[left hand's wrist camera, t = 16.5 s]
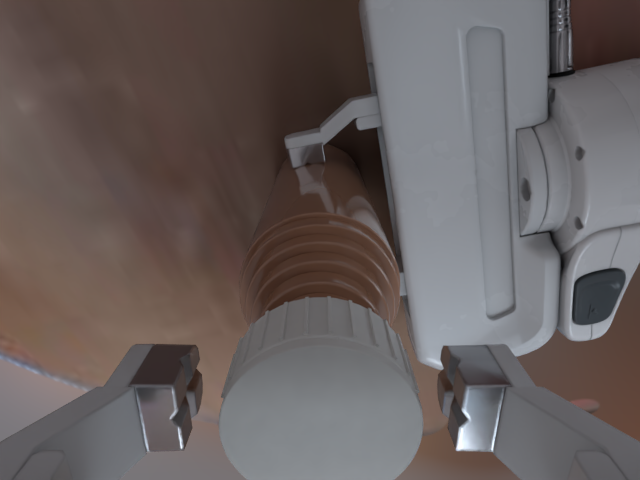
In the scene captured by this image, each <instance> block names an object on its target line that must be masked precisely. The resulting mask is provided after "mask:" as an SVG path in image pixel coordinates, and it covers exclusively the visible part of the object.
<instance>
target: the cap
mask: <svg viewBox="0 0 640 480" xmlns="http://www.w3.org/2000/svg"><path fill="white" fill-rule="evenodd" d="M417 393H419V389H418V386H417V383H416V379H415V376H414V373H413V370H412V367H411V364H410V361H409V357H408V354H407V351H406V349H405V350H404V349H403V345H402V342H401V339H400V336H399V334H398V333H397V334H395V332H394V331H393V330H392V329H391V327H390V326H389V324H388V321H387V320H386V319H385V320H383V319H382V318H380V317H379V316H378V315H376V314H375V313H374V312H372V309H370V308H368V309H367V308H365V307H363V306H361V305H358V304H355V303H353V302H352V300H349V301H346V300H342V299H337V298H331V296H327V297H313V298H309V297H305V299H300V300H296V301H291V302H289V303H288V302H284V304H283V305H281V306H279V307H277V308H275V309H273V310H271V311H266V312H265V315H264V316H262V317H261V318H260V319H259V320H257V321H256V322H255V323H251V324H250V328H249V330H248V331H247V333H246V334H245V336H244V338H240V340H239V343H238V346H237V350H236V353H235V354H234V355H233V359H232V362H231V365H230V369H229V372H228V375H227V379H226V382H225V385H224V389H223V392H222V396H221V398H224V399H223V402H222V406H221V410H220V415H219V434H220V439H221V442H222V446H223V449H224V451H225V453H226V455H227V457H228V459H229V460H230V462H231V463H232V465H233V466H234V467H235V468H236V469H237V470H238V472H239V473H240V474H241V475H242V476H244V477H245V478H246V479H247V480H394V479H396V478H397V477H398V476H399V475H400V474H401V473H402V472H403V471H404V470H405V469H406V467H407V466H408V465H409V464H410V462H411V461H412V459H413V458H414V456H415V454H416V452H417V450H418V448H419V445H420V441H421V438H422V432H423V414H422V407H421V404H420V400H419V397H418V394H417Z"/></svg>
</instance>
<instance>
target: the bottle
mask: <svg viewBox="0 0 640 480" xmlns="http://www.w3.org/2000/svg"><path fill="white" fill-rule="evenodd" d="M324 151H325V159H326V162H323V163H318V164H310V163H308V162H307V163H306V164H305V165H304V166H302V167H298V168H291V165H290V161H289V157H287V158H286V160H285V161H284V162H283V164H282V166H281V168H280V170H279V173H278V175H277V178H276V180H275V183H274V186H273V188H272V191H271V193H270V196H269V198H268V201H267V203H266V206H265V208H264V211H263V213H262V216H261V218H260V221H259V223H258V226H257V229H256V231H255V234H254V236H253V239H252V241H251V244H250V246H249V249H248V251H247V254H246V256H245V259H244V261H243V264H242V268H241V272H240V281H239V287H240V304H241V309H242V313H243V316H244V318H245V321H246V323H247V325H248V327H249V328H250V324H251V323H255V322H256V321H257V320H259V319H260V318H261V317H262V316H264V315H265V312H266V311H271V310H273V309H275V308H277V307H279V306H281V305H283V304H284V302H288V303H289V302H291V301H296V300H300V299H305V297H309V298H313V297H327V296H331V298H337V299H342V300H346V301H349V300H352V302H353V303H355V304H358V305H361V306H363V307H365V308H367V309H368V308H370V309H372V312H374V313H375V314H376V315H378V316H379V317H380V318H382V319H383V320H385V319H386V320H387V321H388V324H389V326H390V327H391V326H392V324H393V323H394V320H395V318H396V315H397V312H398V308H399V303H400V273H399V268H398V265H397V262H396V259H395V257H394V254H393V252H392V249H391V247H390V244H389V242H388V240H387V237H386V235H385V232H384V230H383V228H382V225H381V223H380V220H379V218H378V215H377V213H376V211H375V208H374V206H373V203H372V201H371V199H370V196H369V194H368V191H367V189H366V186H365V184H364V182H363V179H362V177H361V174H360V172H359V170H358V167H357V166H356V164H355V162H354V161H353V159H352V158H351V157H350V156H349V155H348V154H347V153H345V152H344V151H343V150H341V149H339V148H337V147H335V146H332V145H329V144H325V145H324Z"/></svg>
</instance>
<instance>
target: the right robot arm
mask: <svg viewBox="0 0 640 480" xmlns="http://www.w3.org/2000/svg"><path fill="white" fill-rule="evenodd" d="M570 8H571V0H360V2H359V15H360V22H361V28H362V35H363V41H364V48H365V54H366V61H367V68H368V74H369V81H370V87H371V94H367V95H362V96H358V97H353V98H349V99H348V100H347V101H346V102H344V103H343V104H342V105H341V106H340V107H339V108H338V109H337V110H336V111H335V112H334V113H332V114H331V115H330V116H329V117H328V118H327V119H326V120H325V121H324V122H323V123H322V124H320V128H315V129H311V130H306V131H301V132H296V133H292V134H289V135H287V136H285V138H284V140H285V145H286V149H287V153H288V157H289V161H290V165H291V168H298V167H302V166H304V165H305V164H306V163H307V162H308V163H310V164H318V163H323V162H326V159H325V151H324V145H325V144H326V143H327V142H328V141H329V140H330V139H332V138H333V137H334V136H335V135H336V134H337V133H338V132H340V131H341V130H342V129H343V128H344V127H345V126H347V125H348V124H349V123H350V122H351V121H352V120H353V122H354V125H355V126H356V128H357V129H358V130H365V129H370V128H375V127H377V133H378V140H379V147H380V153H381V160H382V166H383V173H384V179H385V186H386V193H387V199H388V206H389V212H390V219H391V225H392V232H393V239H394V245H395V252H396V257H395V259H396V262H397V265H398V268H399V273H400V296H402V298H403V304H404V311H405V318H406V324H407V330H408V334H409V338H410V341H411V344H412V347H413V350H414V353H415V355H416V358H417V360H418V361H419V362H421V363H423V364H425V365H427V366H430V367H432V368H435V369H438V370H443V369H444V368H443V365H442V363H441V360H440V357H441V350H442V348H443V345H484V344H505V345H507V346H508V347H509V348H510V350H511V351H512V353H513V354H514V355H515V357H517V356H520V355H523V354H526V353H529V352H531V351H534V350H536V349H538V348H539V347H541V346H542V345H544V344H545V343H546V342H547V341H548V340H549V339H550V338H551V337H552V335H553V334H554V332H555V330H556V329H557V330H559V331H560V332H561V333H562V334H563V335H564V336H566V337H567V338H568V339H570V340H572V341H586V340H592V339H596V338H598V337H600V336H602V335H603V334H604V333H605V332H606V331H607V330H608V328H609V327H610V325H611V322H612V320H613V318H614V315H615V313H616V311H617V308H618V306H619V303H620V301H621V299H622V297H623V294H624V292H625V290H626V288H627V286H628V284H629V282H630V280H631V278H632V276H633V274H634V272H635V270H636V268H637V267H638V265H639V263H640V58H634V59H630V60H624V61H620V62H615V63H610V64H605V65H601V66H596V67H591V68H586V69H582V70H577V71H573V29H572V23H571V16H570V14H571V9H570Z"/></svg>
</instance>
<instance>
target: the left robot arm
mask: <svg viewBox="0 0 640 480" xmlns="http://www.w3.org/2000/svg"><path fill="white" fill-rule="evenodd" d="M199 360H200V357H199V351H198V347H197V346H196V345H176V344H156V345H155V344H135V345H133V346H132V347H131V348H130V349H129V351H128V352H127V354H126V355H125V357H124V358H123V359H122V361H121V362H120V364H119V365H118V367H117V368H116V369H115V371H114V372H113V374H112V375H111V377H110V378H109V380H108V381H107V382H106V384H105V385H104V387H96V388H94V389H93V390H91V391H89V392H87V393H85V394H84V395H82V396H80V397H78V398H77V399H75V400H73V401H71V402H70V403H68V404H66V405H64V406H63V407H61V408H59V409H57V410H56V411H54V412H52V413H50V414H48V415H47V416H45V417H43V418H41V419H40V420H38V421H36V422H34V423H33V424H31V425H29V426H27V427H26V428H24V429H22V430H20V431H19V432H17V433H15V434H13V435H11V436H10V437H8V438H6V439H4V440H3V441H1V442H0V480H119V479H120V478H121V477H123V476H124V475H125V474H126V473H127V472H128V471H129V470H130V469H131V468H132V467H133V466H134V465H135V464H136V463H137V462H138V461H140V460H141V459H142V458H143V457H144V456H145V455H146V452H156V451H184V449H185V447H186V444H187V441H188V438H189V436H190V433H191V430H192V422H191V418H192V417H194V416H195V415H196V414H197V413H198V411H199V408H200V405H201V399H202V391H203V382H202V374H201V373H200V372H199V371H198V370H197V369H196V368H197V365H198V363H199ZM440 360H441V363H442V365H443V368H444V369H443V370H442V371H441V372H440V373H439V374H438V383H437V389H438V400H439V404H440V408H441V411H442V414H444V415H445V416H446V417H447V418H449V421H448V430H449V433H450V436H451V438H452V441H453V444H454V447H455V449H456V451H484V452H494V453H493V454H494V455H495V456H496V457H497V458H499V459H500V460H501V461H502V462H503V463H504V464H505V465H506V466H507V467H508V468H509V469H510V470H511V471H512V472H513V473H514V474H516V475H517V476H518V477H519V478H520V479H521V480H640V442H639V441H637V440H635V439H633V438H632V437H630V436H628V435H626V434H625V433H623V432H621V431H619V430H618V429H616V428H614V427H612V426H611V425H609V424H607V423H605V422H604V421H602V420H600V419H598V418H597V417H595V416H593V415H591V414H590V413H588V412H586V411H584V410H583V409H581V408H579V407H577V406H576V405H574V404H572V403H570V402H568V401H567V400H565V399H563V398H561V397H560V396H558V395H556V394H554V393H553V392H551V391H549V390H547V389H546V388H544V387H536V386H535V384H534V383H533V381H532V380H531V378H530V377H529V375H528V374H527V373H526V371H525V370H524V368H523V367H522V366H521V364H520V363H519V361H518V360H517V358H516V357H515V355H514V354H513V353H512V351H511V350H510V348H509V347H508V346H507V345H505V344H484V345H443V348H442V350H441V357H440Z"/></svg>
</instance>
